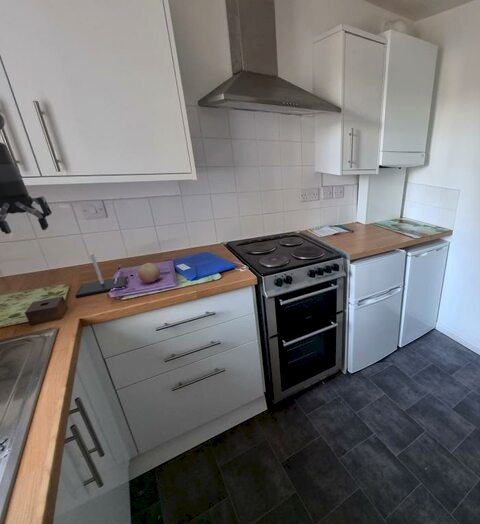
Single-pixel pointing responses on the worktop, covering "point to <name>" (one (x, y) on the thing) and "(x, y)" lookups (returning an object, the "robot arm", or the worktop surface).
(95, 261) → the stylus
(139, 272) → the fruit
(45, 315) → the pen holder
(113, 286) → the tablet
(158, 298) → the worktop surface
